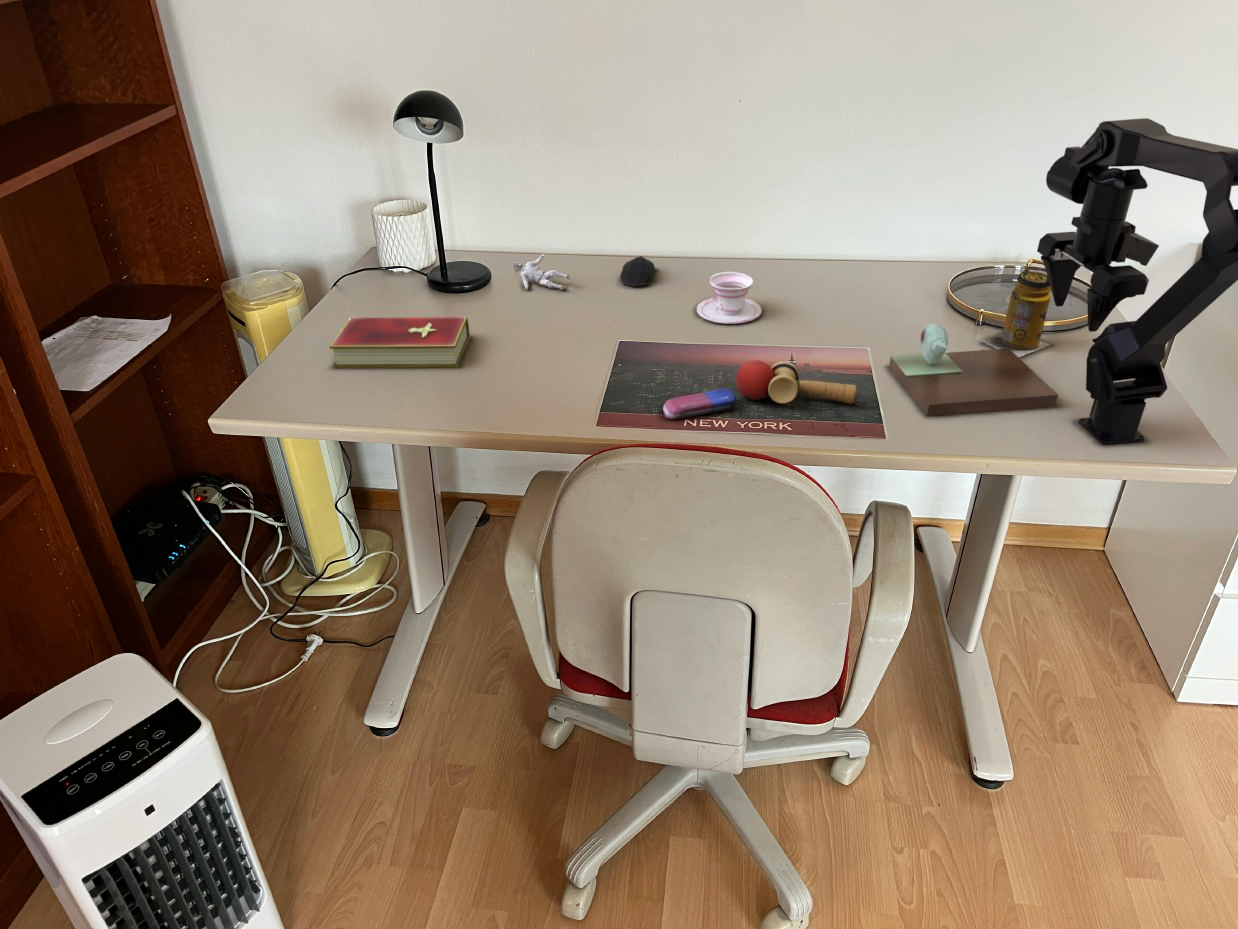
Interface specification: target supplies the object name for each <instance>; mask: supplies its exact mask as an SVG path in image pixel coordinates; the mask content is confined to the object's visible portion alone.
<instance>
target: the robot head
mask: <svg viewBox="0 0 1238 929" xmlns="http://www.w3.org/2000/svg"><path fill="white" fill-rule="evenodd" d="M948 345H949V334H948V331H947V330H946V329H945V327H944V326H942V325H940V324H939V323H933V322H932V323H929V324H927V325H926V326H925V327H924V328H923V329H922V331H921V333H920V348H921V353H923V355H924V357H925V359H926V361H928V362H929V363H930V364H936V363H938V362H939V361H940V360H941V359H942V357H943V355H944V353H946V350H947V347H948Z"/></svg>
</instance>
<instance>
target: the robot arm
mask: <svg viewBox="0 0 1238 929" xmlns="http://www.w3.org/2000/svg"><path fill="white" fill-rule="evenodd" d="M1111 167H1112V168H1111ZM1119 167H1145V168H1148V169H1152V170H1155V171H1160V172H1163V173H1167V174H1171V175H1174V176H1178V177H1182V178H1185V179H1189V180H1192V181H1196V182H1200V183H1203V186H1204V189H1205V191H1206V194H1205V199H1204V205H1203V210H1202V218H1203V220H1204V224H1205V226H1206V228H1207V230H1208V232H1207V233H1206V235H1205V236H1204V238H1203V240H1202V243H1201V244H1202V245H1201V255H1200V257H1199V258H1198V259H1197V261H1195V262H1194V263H1193V264H1192V265H1191V266H1190V267H1189V268H1188V269H1187V270H1186V271H1185V272H1184V273H1183V274H1182V275H1181V276H1180V277H1179V278H1178V279H1177V280H1175V282H1174V283H1173V284H1172V285H1171V286H1170V287H1169V288H1168V289H1166V291H1164V293H1163V294H1161V296H1159V298H1158V299H1157V300H1156V301H1154V302H1153V303H1152V304H1151V305H1150V306H1149V307H1148V308H1147V309H1146V310H1145V311H1144V312H1143V313H1142V314H1141V315H1140V316H1139V317H1138V318H1137V319H1136V320H1131V321H1121V322H1113V323H1110V324H1108V325H1107V326H1105V328H1104V329H1103V330H1102V332H1101V333H1100V334H1099V336H1097V337H1094V338H1092V342H1093V344H1091V346H1090V348H1089V350H1088V353H1087V358H1086V365H1085V366H1086V367H1085V368H1086V374H1085V375H1086V376H1085V390H1086V391H1087V392H1088V393H1090V396H1089V397H1090V398H1091V399H1092V400H1093V402H1092V405H1091V409H1090V411H1089V417H1083V418H1079V419H1078V423H1079V424H1080V426H1082V427H1083V428H1084V429H1085V430H1086V431H1087V432H1088V433H1089V434H1090V435H1091V436H1092V437H1093V438H1094V439H1096V441H1098V443H1099V444H1102V445H1110V444H1121V443H1123V444H1124V443H1135V442H1143V441H1145V438H1146V436H1144V435H1143V433H1141V432H1140V431H1139V430H1138V429H1139V428H1140V424H1141V421H1142V417H1143V416H1144V415H1143V414H1144V411H1145V409H1146V406H1147V401H1145V400H1148V399H1155V398H1156V399H1159V398H1161V397H1162V396H1163V395H1164V393H1166V391H1167V390H1168V385H1167V380H1166V378H1165V374H1164V371H1163V368H1162V362H1163V361H1164V360H1165V357H1166V350H1167V349H1166V348H1167V344H1168V343H1170V341H1172V340H1173V338H1175V337H1176V336H1177V335H1178V334H1179V333H1180V332H1182V331H1183V330H1184V329H1185V328H1186V327H1187V326H1188V325H1189V324H1190V323H1191V322H1193V321H1194V320H1195V319H1196V318H1197V317H1198V316H1199V315H1200V314H1201V313H1203V312H1204V311H1205V310H1206V309H1207V308H1208V307H1209V306H1210V305H1212V304H1213V303H1214V302H1215V301H1216V300H1217V299H1218V298H1220V296H1222V295H1223V294H1224V293H1225V292H1226V291H1227V290H1229V289H1230V288H1231V287H1232V286H1233V285H1234V284H1235V283H1236V282H1237V281H1238V208H1236V209H1235V208H1234V206H1233V204H1232V201H1231V192H1232V187H1238V148H1234V147H1229V146H1225V145H1221V144H1217V143H1216V144H1215V143H1212V142H1206V141H1202V140H1197V139H1193V138H1188V137H1183V136H1178V135H1174V134H1171V133H1169V132H1168V131H1167V128H1166V127H1165V125H1163V124H1161V123H1158V122H1156V121H1155V120H1152V119H1150V118H1148V117H1144V118H1143V117H1141V118H1130V119H1129V118H1128V119H1118V120H1117V119H1116V120H1105V121H1104V120H1103V121H1102V122H1099V124H1098V126H1097V127H1096V128H1095V130H1094V132H1093V133H1092V134H1091V135H1090V137H1089V138H1088V139H1087V140H1086V141H1085V142H1084V144H1083V145H1082V146H1067V147H1066V148H1065V150H1064V154H1063V155H1062V156H1061V157H1059V158H1058V159H1057V160H1055V161H1054V162H1053V164H1052V165H1051V166H1050V168H1049V170H1048V171H1047V172H1046V178H1045V182H1046V186H1047V188H1048V190H1049V191H1050V192H1052V193H1054V194H1056V195H1058V196H1060V197H1063V198H1065V199H1067V200H1068V201H1071V202H1073V203H1075V204H1078V205H1082V206H1081V211H1080V214H1079V216H1072V219H1071V223H1070V225H1072V226H1073V227H1075V228H1076V230H1075V231H1063V232H1048V233H1045V234H1044V235H1043V236H1042V237H1041V238H1040V239H1039V241H1038V245H1037V249H1036V250H1037V251H1036V252H1037V253H1039V254H1040V255H1041V256H1040V261H1042V263H1043V266H1044V270H1045V274H1046V275H1047V276H1048V279H1049V283H1050V287H1051V289H1050V292H1051V294H1052V299H1053V303H1054V305H1055V307H1063V306H1064V305H1065V302H1066V300H1067V298H1068V295H1069V293H1070V289H1071V286H1072V284H1073V281H1074V278H1075V275H1076V272H1077V271H1078V270H1079V269H1080V268H1081V267H1083V268H1085V269H1086V270H1088V271H1089V272H1091V273H1092V274H1091V277H1090V280H1089V282H1090V283H1089V284H1090V287H1089V288H1087V290H1086V292H1087V293H1086V296H1087V297H1086V298H1087V299H1086V300H1087V329H1088V332H1090V333H1094V332H1097V331H1099V329H1100V327H1101V326H1102V325H1103V324H1104V323H1105V321H1106V319H1107V318H1108V317H1109V315H1110V314H1111V313H1112V312H1113V310H1114V309H1115V308H1116V307H1117V306H1118V305H1119V303H1121V302H1122V301H1123V300H1125V299H1128V298H1135V297H1136V296H1143V295H1145V293H1146V292H1147V288H1148V285H1149V281H1150V279H1149V277H1147V275H1146V274H1145V273H1144V272H1142V271H1140V270H1138V269H1137V268H1136V267H1134V266H1133V265H1131V264H1128V265H1113V266H1112V263H1118V264H1119V263H1125V262H1126V259H1128V260H1131V261H1134V262H1136V263H1139V264H1140V265H1141V266H1144V267H1147V266H1148V264H1149V263H1150V261H1151V260H1152V258H1153V256H1154V255H1155V253H1156V252H1157V251H1158V248H1159V247H1160V244H1158V243H1156V242H1154V241H1152V240H1151V239H1148V238H1146V236H1145V237H1144V236H1143V235H1140V234H1139V233H1137V232H1136V228H1137V227H1136V225H1135V224H1133V223H1131V222H1129V221H1126V219H1127V216H1128V212H1129V208H1130V206H1131V205H1130V204H1131V201H1132V198H1133V194H1134V191H1135V190H1145V189H1147V188H1148V186H1149V185H1148V182H1147V181H1146V180H1147V179H1146V178H1145V177H1144V176H1143V175H1142V173H1141V169H1139V168H1131V169H1122V168H1119Z"/></svg>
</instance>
